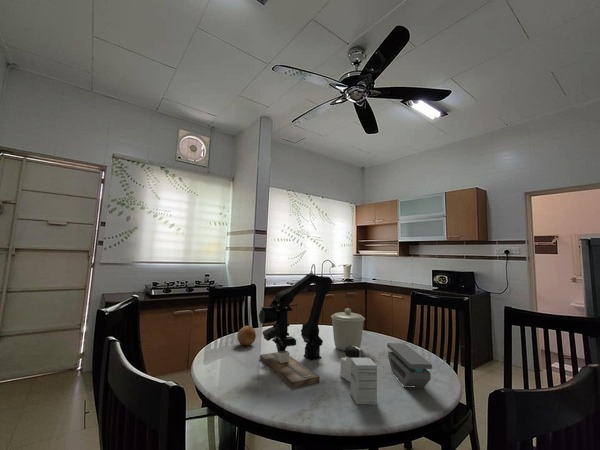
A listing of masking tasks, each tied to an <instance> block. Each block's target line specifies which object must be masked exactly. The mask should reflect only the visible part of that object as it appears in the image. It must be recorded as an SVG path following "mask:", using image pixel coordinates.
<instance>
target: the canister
mask: <svg viewBox="0 0 600 450" xmlns="http://www.w3.org/2000/svg"><path fill="white" fill-rule="evenodd" d="M330 318H331V321H332V333H333V335H332V336H333V342H334V346H335V348H336V349H338V350H339V351H343V352H345V348H346V347H348V346H356V347H358V348H361V346H362V345H361V344H362V338H363V329H364V321H365V320H366V318H365V317H364V316H363V315H361V314H360V313H355V312H352V309H351V308H349V307H347V308H345V309H344V311H341V312H335V313H334V314H332V315H330Z"/></svg>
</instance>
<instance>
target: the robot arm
mask: <svg viewBox="0 0 600 450" xmlns="http://www.w3.org/2000/svg"><path fill="white" fill-rule="evenodd" d="M312 284H314V287H315V295H314V299H313V302H312V306H311V310H310V313H309V317H308V320H307V321H306V323H304V322H303V323H302V328H301V330H300V332H301V333H300V334H301V335H300V337H302V339H303V342H304V343H305V347H304V354H303V357H305V358H306V359H308V360H309V361H310V360H311V361H312V360H318V359H322V356H320V354H321V353H320V352H321V349H320V348H321V346H322V345H323V343H324V340H323V339H322V338H321V337H320V336H319V334H320V327H319V321H320V317H321V314H322V309H323V306H324V302H325V299H326V295H328V293H329V292H330V290H331V288H332V286H333V280H332V278H331V277H330V276H326V275H325V276H323V275H317V274H314V273H307V274H306V275H305V276H303V277H302V278H301V279H300V280H299V281H297V282H296V283H294V284H293V285H291V286H290V287H289V288H285V289H284V290H280V291H279V292H277V293H276V294H275V295H274V298H273V300H272V301H271V303H270V305H269V306H262V307H261V310H260V311H259V314H258V320H259V323H260V324H268V323H269V324H271V323H273V324H272V326H271V327H269V328H266V329H265V330H263V331H262V335H263V339H265V340H266V341H268V342H269V341H272V342H273V343H274V344H275V346H276V352H278V351H285V350H287V347H293V346H297V339H296V338H295V337H293V336H291V335H290V333H289V328H288V327H290V325H291V324H290V323H289V312H291V311H293V308H292V307H291V306H290V304H292V302H293V301H294V300H295V297H296V296H298V295H299V294H300V293H301V292H303V291H304V290H305V289H306V288H308V287H309V286H310V285H312Z"/></svg>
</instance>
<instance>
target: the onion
mask: <svg viewBox="0 0 600 450" xmlns="http://www.w3.org/2000/svg"><path fill="white" fill-rule="evenodd" d="M236 336H237V338H236V339H237V341H238V343H239V344H240V345H242V346H246V347H248V346H251V345H252V344H254V342H255V341H256V338H257V337H256V336H257V334H256V331H255V329H254V328H253V327H252V326H250V325H244V326H243V327H241V328H240V329H239V331H238V333H237V335H236Z"/></svg>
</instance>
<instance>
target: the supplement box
mask: <svg viewBox="0 0 600 450" xmlns="http://www.w3.org/2000/svg"><path fill="white" fill-rule="evenodd" d="M350 395H351V397H352V399H353V400H354V402H355V404H356V405H357V404H369V405H377V404H378V365H377V364H376V363H375V362H374V361H373V360H372V359H371V358H370V357H360V358H351V383H350Z"/></svg>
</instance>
